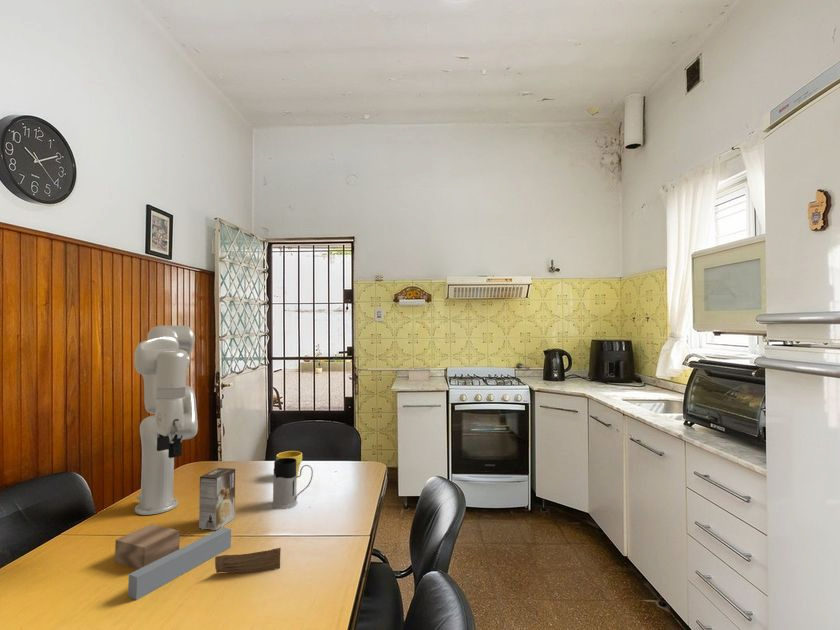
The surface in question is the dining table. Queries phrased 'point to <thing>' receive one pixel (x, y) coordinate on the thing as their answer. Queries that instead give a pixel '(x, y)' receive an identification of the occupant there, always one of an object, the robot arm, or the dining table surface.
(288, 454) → the plant pot
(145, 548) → the walnut block
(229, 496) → the coffee box
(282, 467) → the glass holder
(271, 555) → the wood plank
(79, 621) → the dining table surface
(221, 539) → the grey board
